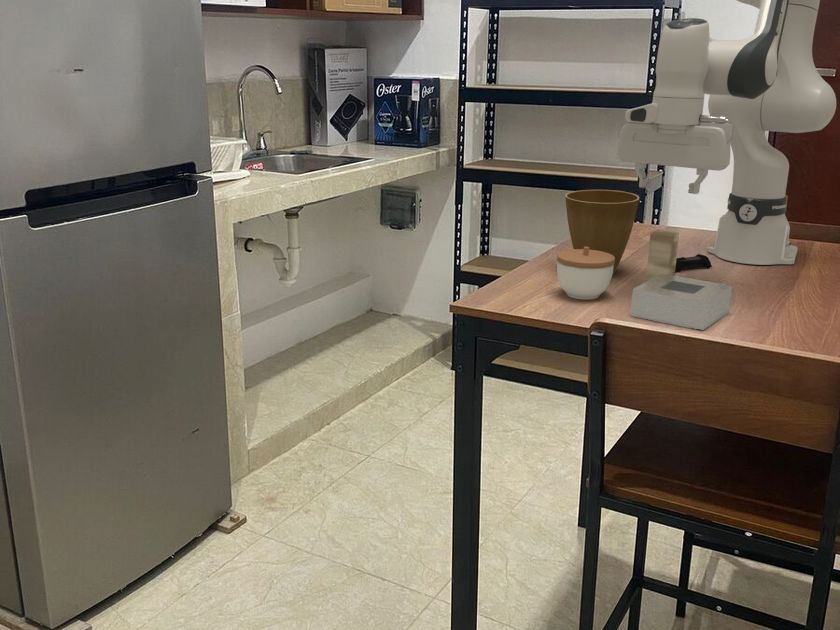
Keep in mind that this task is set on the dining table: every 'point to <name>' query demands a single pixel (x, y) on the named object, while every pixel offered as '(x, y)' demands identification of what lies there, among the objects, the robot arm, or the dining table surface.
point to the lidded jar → (584, 272)
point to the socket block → (681, 301)
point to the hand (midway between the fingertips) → (668, 190)
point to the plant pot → (601, 220)
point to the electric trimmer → (692, 262)
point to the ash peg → (662, 253)
